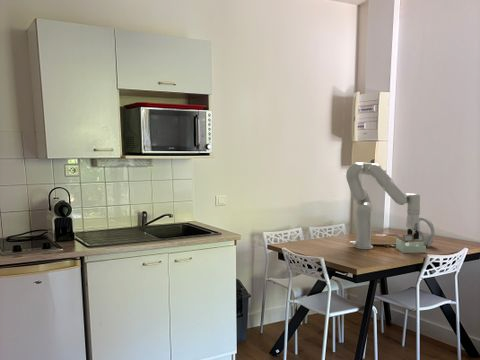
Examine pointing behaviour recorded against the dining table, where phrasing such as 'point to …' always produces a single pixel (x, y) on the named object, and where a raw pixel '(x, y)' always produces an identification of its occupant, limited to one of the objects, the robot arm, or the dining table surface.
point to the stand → (410, 247)
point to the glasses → (410, 238)
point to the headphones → (427, 236)
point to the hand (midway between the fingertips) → (412, 237)
